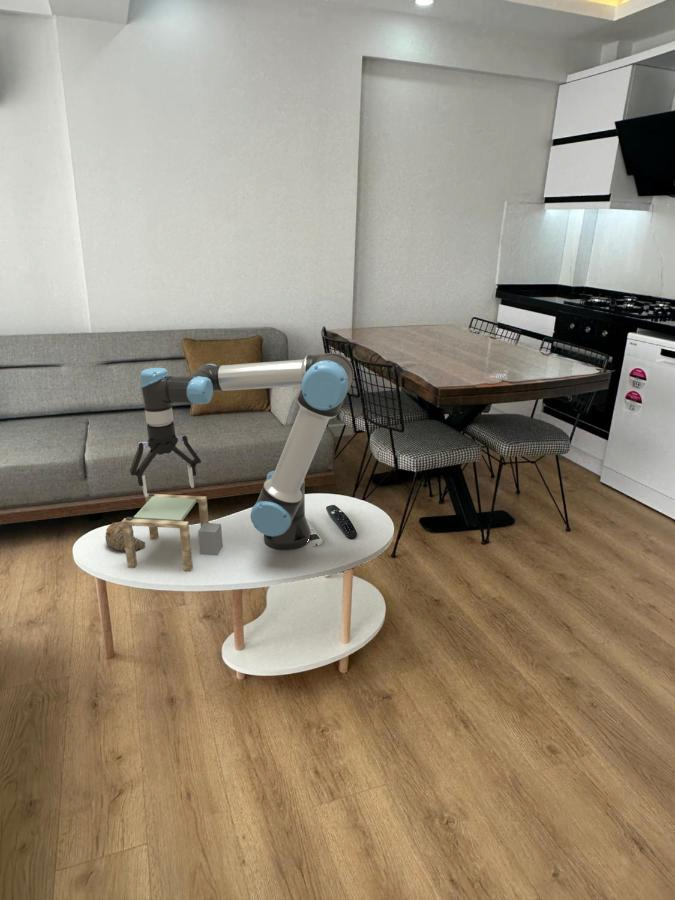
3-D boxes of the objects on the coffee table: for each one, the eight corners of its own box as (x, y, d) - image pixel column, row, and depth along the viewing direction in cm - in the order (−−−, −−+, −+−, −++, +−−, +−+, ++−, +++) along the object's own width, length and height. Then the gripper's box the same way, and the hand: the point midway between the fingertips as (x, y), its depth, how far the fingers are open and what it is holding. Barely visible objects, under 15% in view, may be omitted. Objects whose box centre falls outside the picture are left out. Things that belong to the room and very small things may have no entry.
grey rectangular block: (222, 546, 190) (221, 523, 187) (217, 555, 185) (215, 532, 182) (205, 545, 190) (203, 522, 187) (200, 554, 185) (198, 531, 182)
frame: (209, 539, 194) (206, 494, 188) (190, 571, 176) (185, 523, 170) (152, 536, 195) (147, 492, 190) (127, 567, 178) (121, 519, 172)
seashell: (116, 546, 197) (99, 523, 193) (144, 530, 199) (127, 506, 195) (118, 565, 185) (99, 541, 181) (147, 548, 187) (129, 524, 183)
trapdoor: (196, 509, 187) (196, 499, 186) (181, 531, 174) (180, 519, 173) (153, 506, 189) (152, 496, 187) (134, 528, 176) (133, 516, 174)
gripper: (200, 412, 181) (207, 478, 188) (112, 425, 171) (123, 494, 178) (206, 419, 174) (213, 486, 182) (116, 433, 164) (127, 503, 172)
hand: (169, 490), depth 180 cm, fingers open, 13 cm apart
